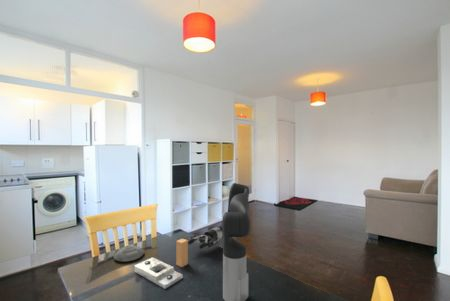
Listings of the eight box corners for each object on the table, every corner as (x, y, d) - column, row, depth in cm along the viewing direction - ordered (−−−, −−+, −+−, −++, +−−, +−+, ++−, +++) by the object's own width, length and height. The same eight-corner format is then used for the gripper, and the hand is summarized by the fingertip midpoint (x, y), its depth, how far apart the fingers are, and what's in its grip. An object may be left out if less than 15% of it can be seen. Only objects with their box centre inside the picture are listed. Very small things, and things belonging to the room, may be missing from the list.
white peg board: (182, 277, 102) (182, 270, 102) (164, 289, 94) (164, 280, 94) (152, 263, 115) (152, 256, 115) (134, 271, 107) (134, 264, 107)
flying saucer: (150, 253, 125) (150, 244, 125) (128, 266, 112) (128, 255, 112) (130, 248, 132) (130, 239, 132) (107, 260, 118) (107, 249, 118)
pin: (187, 264, 114) (187, 240, 114) (181, 267, 111) (181, 243, 111) (182, 261, 116) (182, 238, 116) (176, 264, 113) (176, 241, 113)
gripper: (204, 226, 138) (184, 234, 125) (222, 231, 129) (204, 241, 116) (204, 238, 138) (184, 248, 125) (222, 244, 129) (204, 255, 116)
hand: (194, 244), depth 120 cm, fingers open, 8 cm apart
